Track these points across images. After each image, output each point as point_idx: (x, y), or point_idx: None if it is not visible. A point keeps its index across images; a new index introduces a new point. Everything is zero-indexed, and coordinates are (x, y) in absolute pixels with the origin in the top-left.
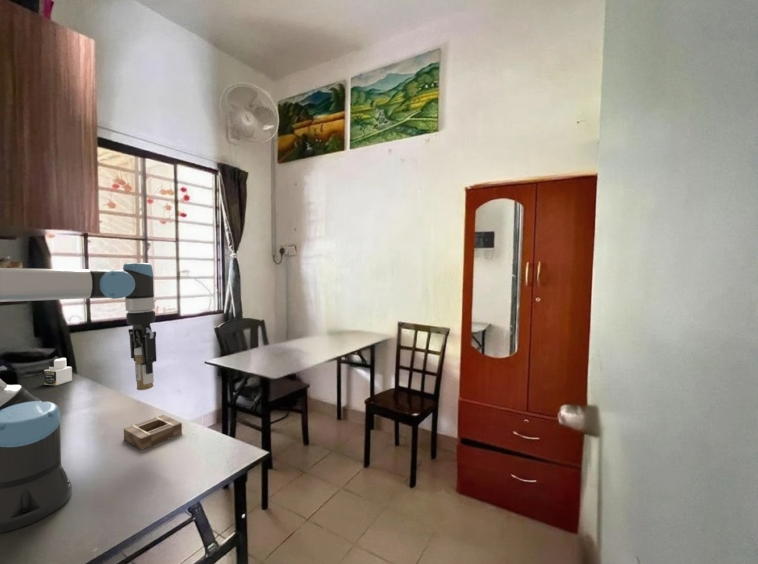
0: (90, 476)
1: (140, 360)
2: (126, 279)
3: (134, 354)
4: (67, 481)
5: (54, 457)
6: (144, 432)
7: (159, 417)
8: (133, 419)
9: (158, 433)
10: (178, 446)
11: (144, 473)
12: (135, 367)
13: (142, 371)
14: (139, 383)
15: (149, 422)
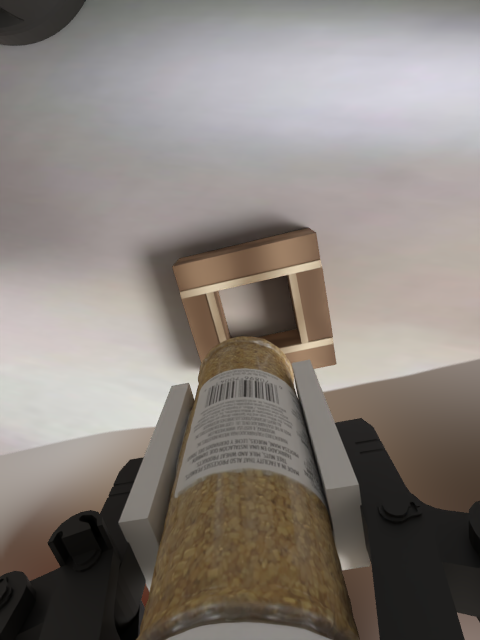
0: (94, 105)
1: (163, 558)
2: None
3: (245, 628)
4: (5, 18)
5: None
6: (215, 284)
7: (322, 348)
8: (468, 280)
9: (188, 318)
10: (126, 342)
11: (15, 238)
12: (329, 435)
13: (166, 452)
14: (212, 368)
15: (297, 314)
